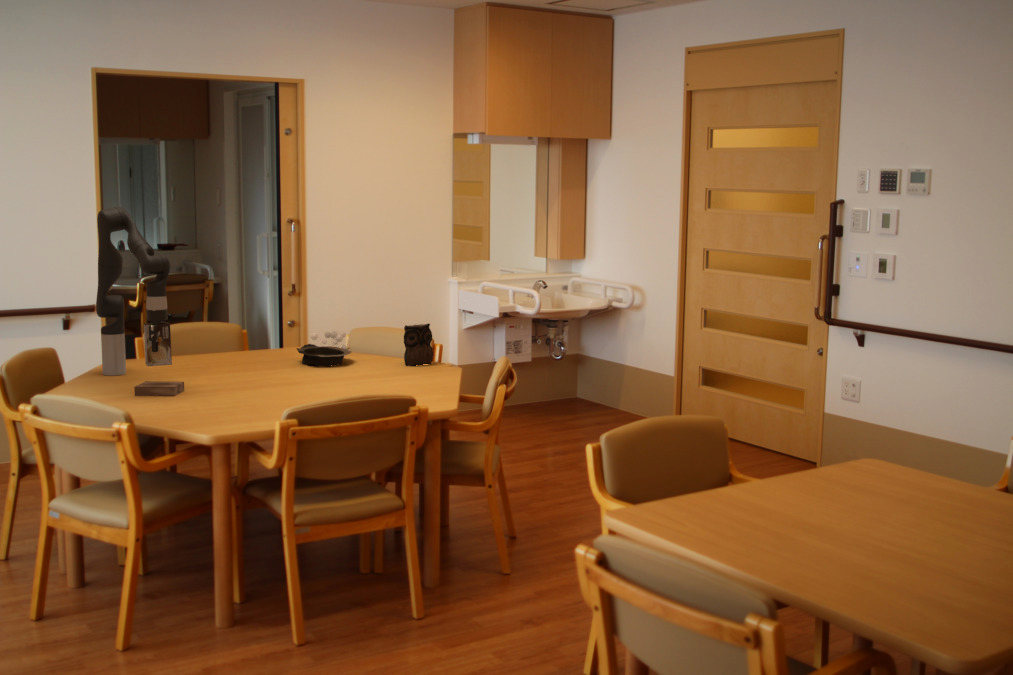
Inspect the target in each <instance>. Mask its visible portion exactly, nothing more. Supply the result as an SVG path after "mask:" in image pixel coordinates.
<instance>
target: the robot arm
mask: <svg viewBox="0 0 1013 675" xmlns="http://www.w3.org/2000/svg"><path fill="white" fill-rule="evenodd" d="M96 217H97V219H96V220H97V221H96V223H97V225H96V226H97V233H98V234H97V235H98V253H97V254H98V255H97V256H98V257H97V258H98V260H97V292H96V300H95V301H96V302H95V311H96V315H97V316H98V317H99V318H102V319H105V318H108V319H109V318H114V321H112V322H110V323H109V324H105V325H103V326H102V327H101V328H100V338H101V343H100V344H101V363H102V364H101V366H102V369H101V370H102V371H101V372H102V375H103V376H123V375H125V374H127V362H126V360H127V358H126V357H127V356H126V337H125V336H126V332H125V300H124V297H123V296H122V295H121V294H119V295H118V294H116V295H107V294H108V293H109V290H110V289H111V288H112V287H113V285H114V284H115V283H116V282H117V281H118V279H119V278H120V277H121V275H122V272H123V263H124V262H123V260H124V259H123V256H122V254H121V252H120V250H118V248H117V247H116V246H115V245H114V244H113V242H112V238H111V234H112V233H115V232H120V231H123V230H124V231H125V232H126V233H127V238H126V239H127V240H126V242H127V243H126V244H127V248H128V250H129V251H130V252H131V253H132V254H133V256H134V257H135V258H136V259H137V262H138V265H139V267H140V270H141V271H142V272H143V273H144V274H146V275H156V276H155V278H154V279H152V280H150V281H147V282H146V286H145V287H146V303H145V304H146V307H145V308H146V310H145V311H146V321H149V322H151V323H152V325H149V341H151V342H152V352H158V338H159V337H160V331H159V332H158V334H157V333H156V331H158V324H160V323H163V322H166V321H167V320H168V300H167V282H168V279H169V275H170V274H169V273H170V270H171V263H170V260H169V258H168V257H167V256H165V255H155V250H154V248H153V246H152V245H151V244H150V243H149V242H148V241H147V240H146V239H145V237H144V236H143V235H142V234H141V232H140V230H139V228H138V227H137V225H136V223H135V222H134V220H133V218H132V217H131V215H130V214H129V212H128V211H127V209H125V208H124V207H122V206H117V207H116V206H115V207H110V208H105V209H101V210H99V211H98V212H97V216H96ZM153 336H154V338H153Z"/></svg>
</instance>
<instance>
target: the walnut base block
mask: <svg viewBox="0 0 1013 675" xmlns="http://www.w3.org/2000/svg"><path fill="white" fill-rule="evenodd" d="M184 391H185V381H170V380H169V381H166V380H165V381H163V380H162V381H161V380H160V381H159V380H157V381H154V380H153V381H152V380H151V381H148V380H147V381H144V382H141V383H139V384H137V385H134V397H139V396H140V397H175V396H178V395H179V394H181V393H183V392H184Z"/></svg>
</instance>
